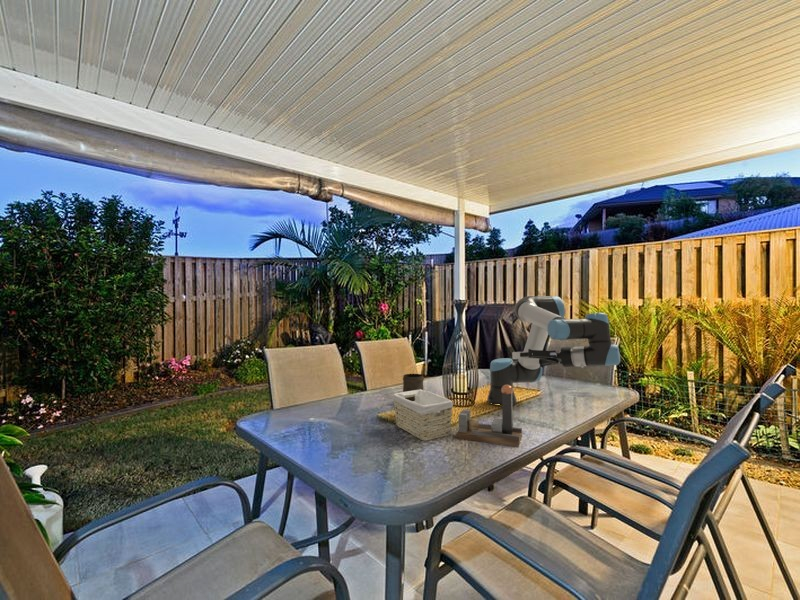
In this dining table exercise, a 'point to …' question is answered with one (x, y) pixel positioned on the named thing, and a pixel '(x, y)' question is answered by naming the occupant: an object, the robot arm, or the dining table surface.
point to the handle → (505, 413)
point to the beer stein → (412, 383)
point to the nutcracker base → (486, 432)
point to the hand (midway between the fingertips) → (518, 359)
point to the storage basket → (423, 414)
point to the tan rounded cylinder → (472, 424)
